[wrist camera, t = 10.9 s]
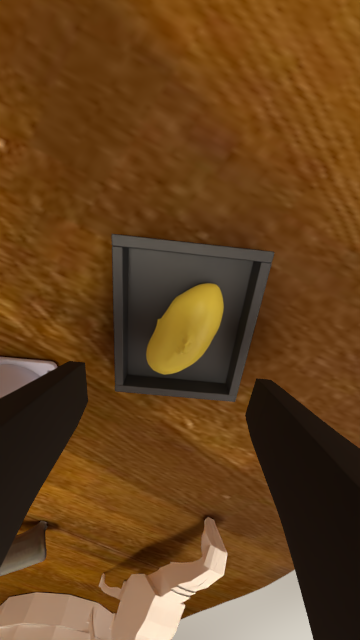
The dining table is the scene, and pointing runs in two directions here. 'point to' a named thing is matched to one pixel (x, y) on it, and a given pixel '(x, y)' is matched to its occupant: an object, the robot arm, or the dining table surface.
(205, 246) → the tray
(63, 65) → the dining table surface
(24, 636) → the container
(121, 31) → the dining table surface
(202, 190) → the dining table surface
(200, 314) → the yellow oval lump
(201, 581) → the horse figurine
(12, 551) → the tape dispenser
